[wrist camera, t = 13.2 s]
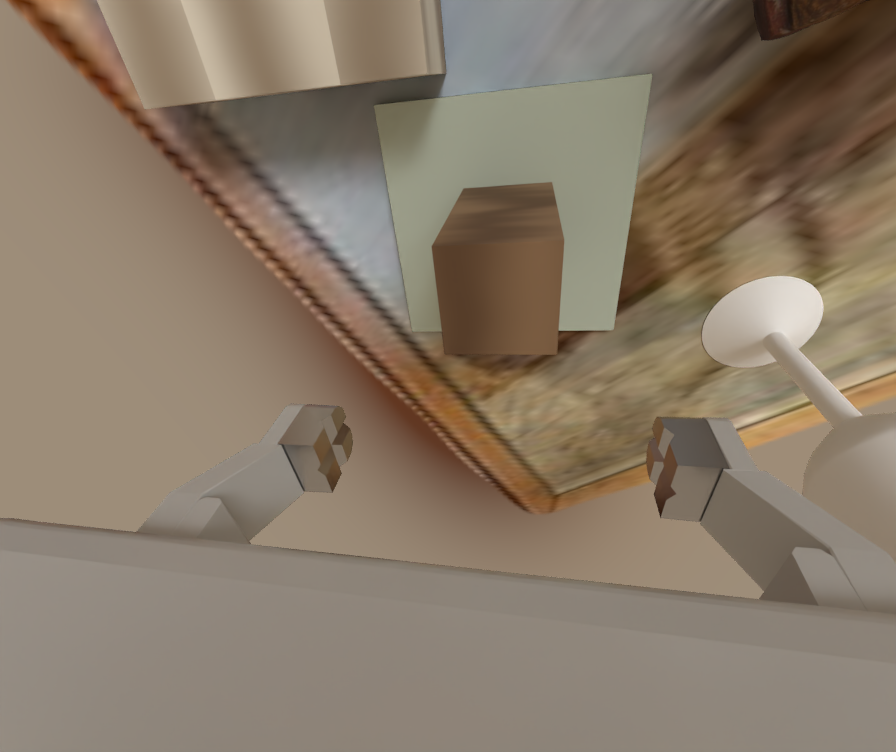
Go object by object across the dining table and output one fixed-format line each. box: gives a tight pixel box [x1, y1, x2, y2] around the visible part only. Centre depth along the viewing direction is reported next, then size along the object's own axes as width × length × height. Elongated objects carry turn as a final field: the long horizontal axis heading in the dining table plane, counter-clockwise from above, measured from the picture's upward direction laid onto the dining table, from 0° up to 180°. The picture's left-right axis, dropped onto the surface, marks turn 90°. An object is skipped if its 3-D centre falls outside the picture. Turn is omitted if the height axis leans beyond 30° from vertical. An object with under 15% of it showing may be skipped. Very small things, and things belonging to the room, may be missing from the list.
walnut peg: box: [432, 182, 564, 355], centre depth 21 cm, size 5×5×10 cm
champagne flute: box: [702, 276, 896, 563], centre depth 17 cm, size 7×7×24 cm
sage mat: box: [374, 74, 653, 332], centre depth 25 cm, size 14×14×1 cm
